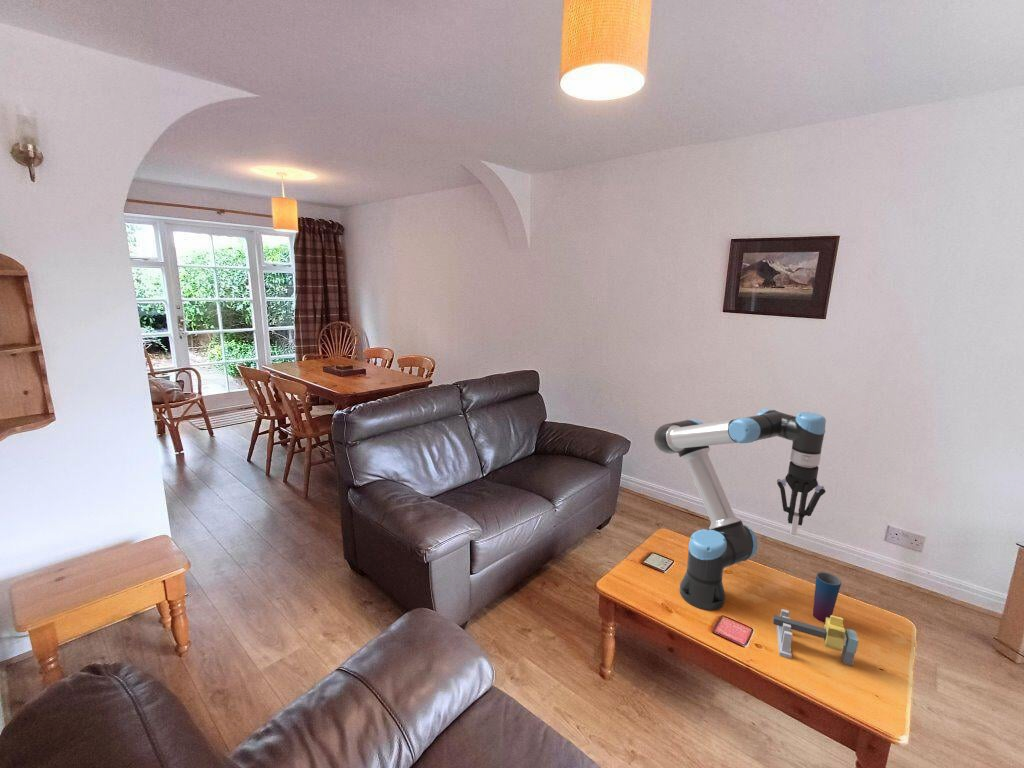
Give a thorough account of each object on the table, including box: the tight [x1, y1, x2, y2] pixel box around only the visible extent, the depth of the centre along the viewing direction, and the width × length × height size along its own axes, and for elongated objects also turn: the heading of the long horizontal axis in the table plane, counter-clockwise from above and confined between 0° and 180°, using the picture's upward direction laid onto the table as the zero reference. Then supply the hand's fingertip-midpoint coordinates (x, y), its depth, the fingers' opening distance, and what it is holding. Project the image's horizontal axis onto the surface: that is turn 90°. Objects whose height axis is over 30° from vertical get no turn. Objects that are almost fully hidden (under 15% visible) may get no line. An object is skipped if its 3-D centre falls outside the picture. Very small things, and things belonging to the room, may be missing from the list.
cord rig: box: [772, 608, 859, 666], centre depth 139 cm, size 21×13×9 cm, turn 64°
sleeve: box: [822, 614, 846, 652], centre depth 136 cm, size 4×5×9 cm
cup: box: [812, 571, 842, 624], centre depth 152 cm, size 7×7×15 cm
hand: (793, 532), depth 145 cm, fingers closed
